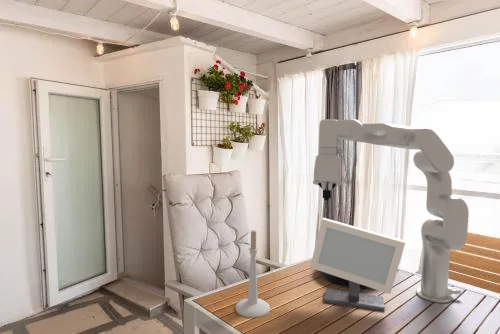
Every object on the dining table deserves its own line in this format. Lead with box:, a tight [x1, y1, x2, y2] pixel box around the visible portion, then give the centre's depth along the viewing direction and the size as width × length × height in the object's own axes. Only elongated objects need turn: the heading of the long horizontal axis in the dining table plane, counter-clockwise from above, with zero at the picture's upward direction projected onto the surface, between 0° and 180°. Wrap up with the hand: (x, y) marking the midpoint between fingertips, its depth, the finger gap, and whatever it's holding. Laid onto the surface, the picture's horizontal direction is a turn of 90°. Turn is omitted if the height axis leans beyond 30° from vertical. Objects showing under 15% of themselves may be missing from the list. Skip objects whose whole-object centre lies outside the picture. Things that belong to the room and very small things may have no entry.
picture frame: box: [309, 217, 406, 295], centre depth 125 cm, size 30×3×20 cm, turn 73°
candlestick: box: [235, 229, 271, 319], centre depth 122 cm, size 13×13×30 cm
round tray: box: [319, 271, 371, 289], centre depth 155 cm, size 30×6×30 cm
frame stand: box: [323, 281, 386, 312], centre depth 129 cm, size 22×9×23 cm, turn 73°
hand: (326, 200), depth 127 cm, fingers closed
